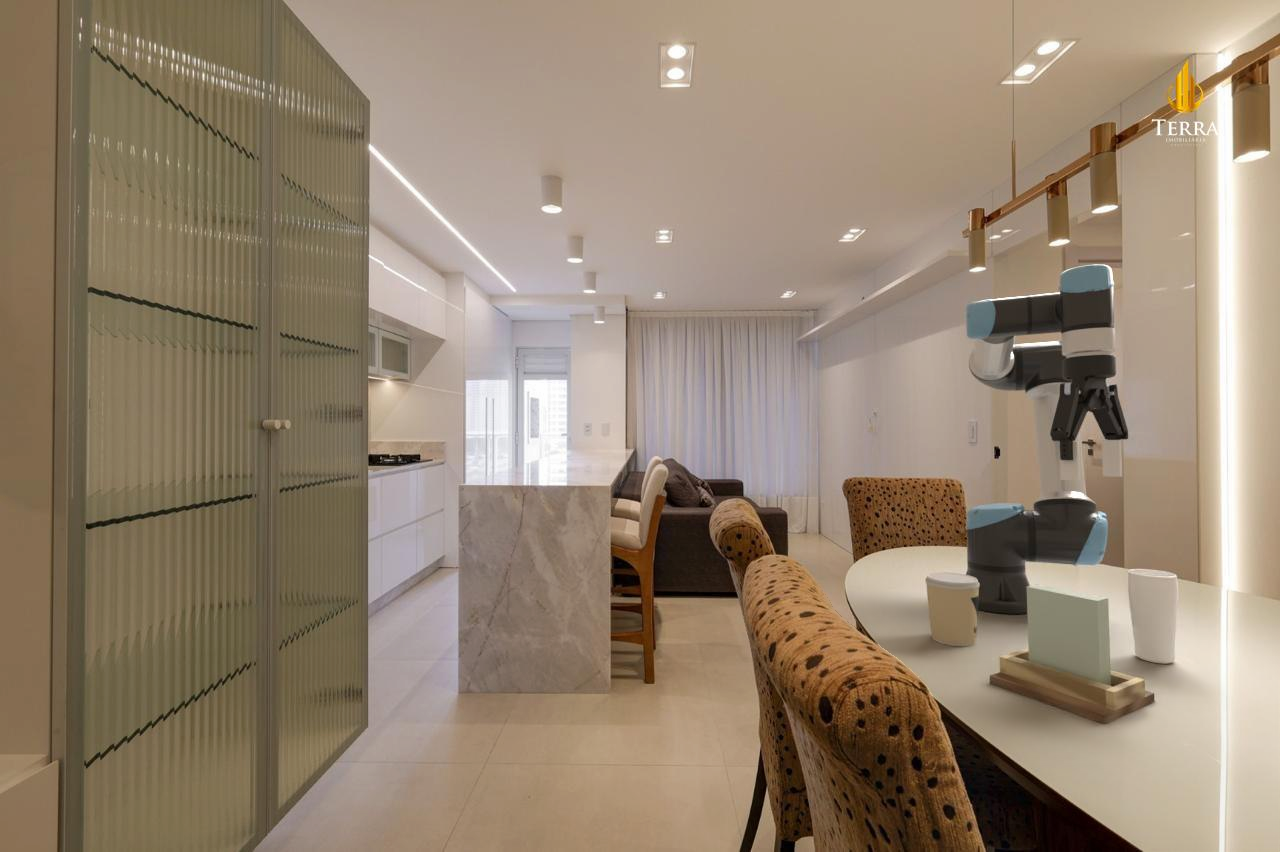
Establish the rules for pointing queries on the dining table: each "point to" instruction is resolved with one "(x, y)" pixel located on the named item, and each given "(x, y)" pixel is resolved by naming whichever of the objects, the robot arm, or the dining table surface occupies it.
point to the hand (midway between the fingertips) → (1092, 478)
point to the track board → (1066, 699)
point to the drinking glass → (1153, 613)
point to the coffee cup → (953, 608)
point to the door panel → (1069, 632)
